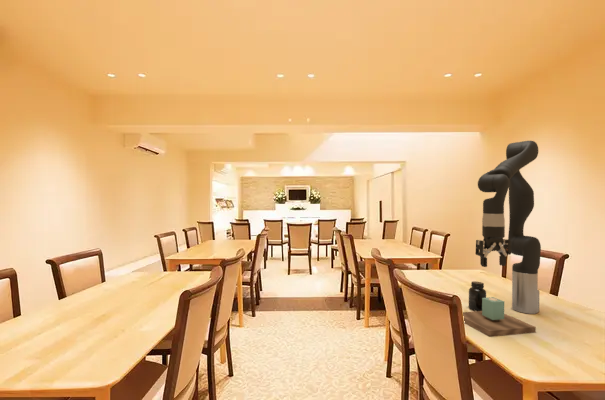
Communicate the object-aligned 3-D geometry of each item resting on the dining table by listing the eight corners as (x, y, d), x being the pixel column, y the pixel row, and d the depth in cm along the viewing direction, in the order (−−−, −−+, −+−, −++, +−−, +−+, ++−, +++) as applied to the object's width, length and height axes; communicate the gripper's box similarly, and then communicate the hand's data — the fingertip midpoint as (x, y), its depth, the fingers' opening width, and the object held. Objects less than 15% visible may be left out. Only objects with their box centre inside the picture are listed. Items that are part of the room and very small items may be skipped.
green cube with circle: (493, 314, 123) (493, 296, 123) (504, 319, 118) (504, 300, 118) (482, 314, 122) (482, 297, 122) (492, 319, 117) (492, 301, 117)
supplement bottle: (488, 312, 133) (488, 285, 133) (471, 311, 134) (471, 284, 134) (482, 307, 140) (482, 281, 140) (466, 306, 141) (466, 280, 141)
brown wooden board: (495, 314, 131) (495, 293, 131) (535, 332, 113) (535, 308, 113) (454, 317, 127) (454, 296, 127) (489, 336, 109) (489, 312, 109)
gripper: (500, 224, 126) (500, 263, 126) (470, 224, 123) (470, 264, 123) (516, 225, 118) (516, 267, 118) (485, 226, 115) (485, 269, 115)
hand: (493, 266), depth 121 cm, fingers open, 8 cm apart
